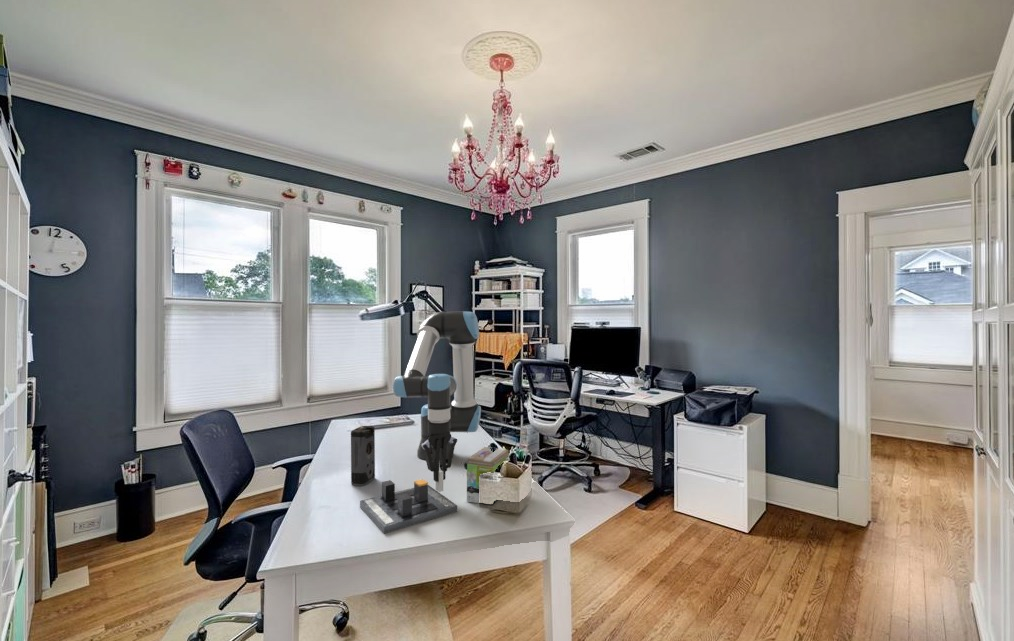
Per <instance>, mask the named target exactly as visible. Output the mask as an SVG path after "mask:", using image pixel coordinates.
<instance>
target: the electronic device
mask: <svg viewBox="0 0 1014 641" xmlns="http://www.w3.org/2000/svg"><path fill="white" fill-rule="evenodd" d="M375 441H376V440H375V427H374V426H373V425H361V426H358V427H357V428H354V429H352V430H351V431H350V474H351V475H350V481H351V482H350V483H351V485H353V486H357V487H358V486H360V487H363V486H366V485H368V484H369V483H370V482H372V481H373V480H374V479H375V477H376V464H375V463H376V454H375V453H376V450H375V449H376V448H375V446H376V445H375V444H376V443H375Z"/></svg>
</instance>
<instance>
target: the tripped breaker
mask: <svg viewBox="0 0 1014 641" xmlns="http://www.w3.org/2000/svg"><path fill="white" fill-rule="evenodd" d="M428 483H429V482H428V481H426V480H424V479H423V478H422V479H421V478H420V479H418V480H414V481H413V484H414V485H413V488H414V498H415V499H416V500H417V501H419V502H421V501H425V500H428V485H429V484H428Z"/></svg>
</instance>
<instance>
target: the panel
mask: <svg viewBox="0 0 1014 641" xmlns="http://www.w3.org/2000/svg"><path fill="white" fill-rule="evenodd" d="M395 485H396V484H395V483H394V482H393V481H392V480H391V479H390V480H385V481H381V495H378V496H373V497H371V498H366V499H363V500H359V508H361V510H362V511H363V512H364V513H365V515H367V516H368V518H369V519H371V521H372V522H373V523H374V524H375V525H376V527H377V528H379V530H380V531H381V532H382V533H383V535H384V534H388V533H391V532H395V531H398V530H401V529H404V528H408V527H411V526H414V525H415V526H416V525H419V524H422V523H425V522H427V521H431V520H434V519H435V520H436V519H437V518H441V517H442V518H443V517H445V516H449V515H452V514H455V513H458V504H456V503H455V502H453V501H452V500H450V499H449V498H448V497H446V496H444V495H443V494H441V492H439V491H437V490H436V488H434V487H432V486H430V485H429V484H428V500H425V501H421V502H419V501H417V500H416V499H415V498H414V487H411V488H408V489H404V490H399V491H396V490H395V489H396V488H395V487H396V486H395Z"/></svg>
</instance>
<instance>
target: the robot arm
mask: <svg viewBox="0 0 1014 641" xmlns="http://www.w3.org/2000/svg"><path fill="white" fill-rule="evenodd" d="M479 326H480V325H479V321H478V317H477V315H476V313H475V312H473V311H461V310H460V311H438V312H435V313H433V314H430V316H428V317H427V318H425V319H424V320H423V321H422V322H421V324H420V325H419V327H418V329H417V331H416V338H417V339H416V342H415V343H414V347H413V348H412V352H411V355H410V357H409V360H408V363H407V366H406V369H405V371H404V373H403V375H398V376H395V377H394V380H393V384H392V389H393V393H394V395H395V397H398V398H406V399H407V398H427V404H424V405H423V406H422V407H421V410H420V412H421V413H420V424H421V425H420V436H421V437H420V441H419V445H418V447H417V452H416V454H417V458H419V459H421V460H425V462H426V467H427V470H429V471H430V472H432V473H433V481H434V482H435V490H436V491H437V492H439V493H441V492H444V481H445V480H446V472H447V471H448V469H450V468H451V466H452V462H453V457H454V451H455V446H456V444H457V443H458V439H457V438H456V437H453V436H452V434H451V433H467V434H468V433H475V432H477V431H478V429H479V426H480V421H481V411H482V407H481V405H478V401H477V400H476V399H475V398H474V368H473V367H474V366H473V362H474V361H473V360H474V359H473V346H474V345H475V344H476V342H477V341H476V339H479V337H480V328H479ZM440 339H448V344H449V345H450V346H451V347H452V366H453V367H452V369H453V371H452V372H453V373H452V374H453V375H450V374H447V373H434V374H433V373H432V374H429V375H427V376H426V374H427V370H428V367H429V364H430V361H431V358H432V355H433V352H434V349H435V345H436V344H437V343H438V342H439V340H440ZM451 396H453V397H454V398H453V400H452V401H451Z"/></svg>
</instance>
